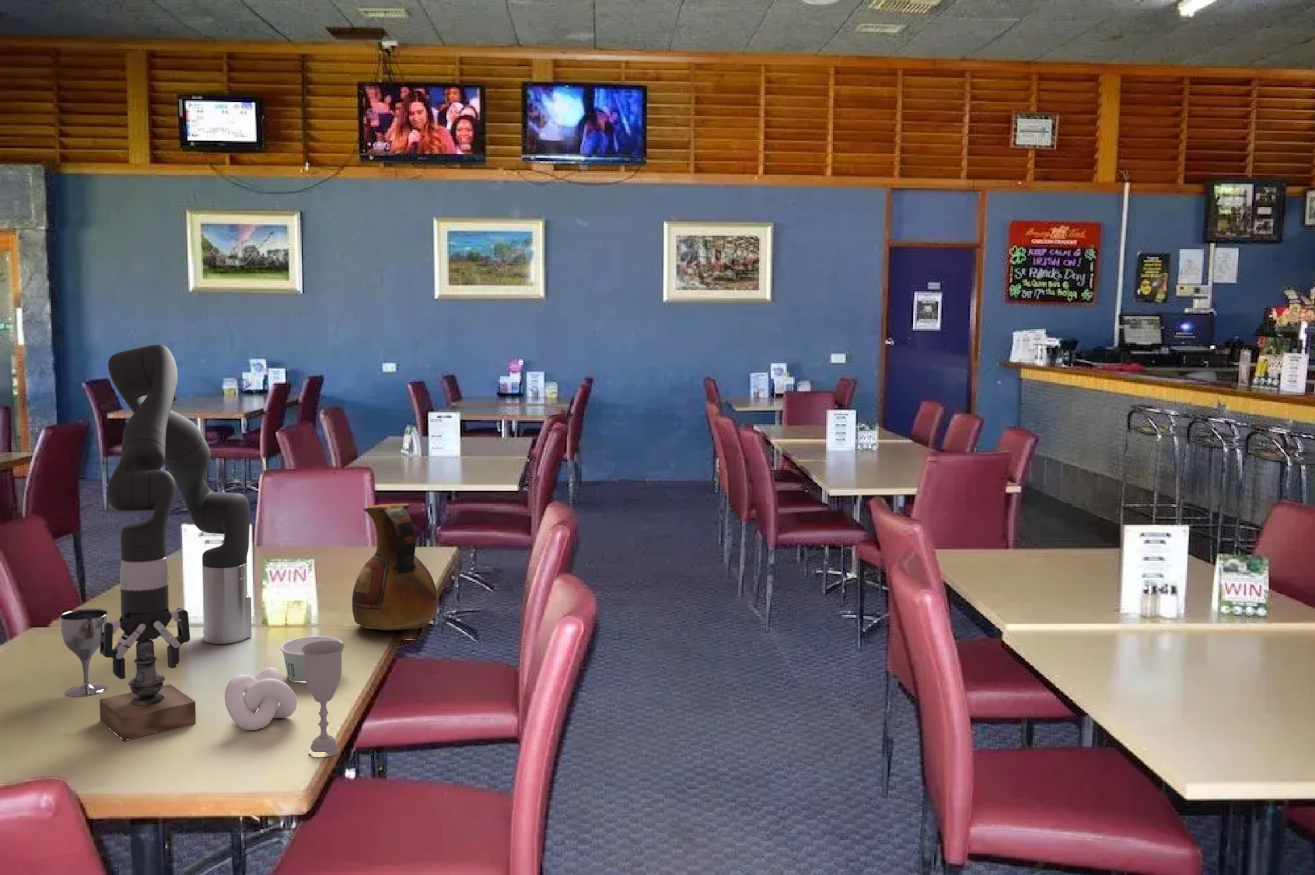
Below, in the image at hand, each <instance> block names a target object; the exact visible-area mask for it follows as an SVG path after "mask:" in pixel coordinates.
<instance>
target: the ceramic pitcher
mask: <svg viewBox="0 0 1315 875" xmlns="http://www.w3.org/2000/svg"><path fill="white" fill-rule="evenodd" d="M410 506H411V505H410V503H389V504H388V503H387V504H385V503H384V504H383V503H382V504H376V505H371V506H369V507H365V508H363V511H364V512H366V513H367V514H368V516H369V517H370V518H371V519H372V522H373V523H374V527H375V530H376V538H377V541H376V543H377V545H376V550H375V553H374V554H373V555H372V557H371V558H369V560H368V561H367V562H365V564H364V565H363V566H362V568H361V570H360V572H359V573H358V576H357V578H356V580H355V583H354V587H353V590H352V596H351V598H352V599H351V609H352V615H353V620H354V622H355V623H356V624H357V625H360V626H361V627H363V628H365V629H369V630H370V629H373V630H378V631H381V630H382V631H400V630H401V631H402V630H410V629H420V628H424V627H426V626H427V625H428V624H429V623H430V622H432V620H433V619H434V618H435V617H436V616H437V612H438V603H439V602H438V593H437V586H436V585H435V581H434V579H433V576H432V575H431V572H430V571H429V569H428V568H427V567H426V565H425V564H424V563H423V562H422V561H421V559H419V558H418V557H417V556H416V555H415V554H416V543H417V542H416V534H415V529H414V524H413V520H412V519H411V516H410V514H409V513H408V512H407V510H408V509H409V508H410Z"/></svg>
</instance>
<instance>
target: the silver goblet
mask: <svg viewBox="0 0 1315 875" xmlns="http://www.w3.org/2000/svg"><path fill="white" fill-rule="evenodd" d="M104 620H106V621H108V622H109V614H108V610H106V609H102V608H80V609H73V610H69V611H67V612H64V613H62V614H61V615H60V616H59V621H60V622H59V624H60V626H59V627H60V633H61V637H62V640H63V643H64V645H65V646H66V648H68V650H70V651H71V652H72V653H73V654H75V655H76V656H77V657H78V659H79V661H80V663H81V667H82V673H83V684H78V685H76V686H72V687H69V688H68V689H67V690H65V692H64V693H65V696H68V697H75V698H77V697H78V698H80V697H81V698H82V697H90V696H94V695H95V696H96V695H98V694H101V693H104V692H105V691H106V690H108V685H106V684H103V683H94V682H93V683H90V682H89V669H90V661H91V659H92V657H93V656H94V654H95V653H96V652H97V651H98V650H99V649H100V634H101V622H102V621H104Z"/></svg>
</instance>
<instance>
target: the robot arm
mask: <svg viewBox="0 0 1315 875" xmlns="http://www.w3.org/2000/svg"><path fill="white" fill-rule="evenodd" d="M107 367H108V368H107V369H108V374H109V376H110V379H111V380H112V381H111V382H112V383H113V385H114V388H116V390H117V392H118V393H119V395H120V396H121V398H122V399H123V400H124V402H125V403H126V405H127V406H128V408H130V410H131V411H132V413H133V414H132V415H131V416H130V418H129V419H128V421H127V422H126V424H125V427H124V428H123V433H122V439H121V440H122V442H121V454H120V458H119V461H118V463H117V465H116V467H115V469H114V471H113V473H112V475H111V476H110V479H109V481H108V485H107V488H106V496H107V498H106V499H107V500H108V501H107V502H108V503H109V505H110V506H111V507H112V508H113V509H114V510H116V511H119V512H142V511H143V512H144V511H145V512H146V511H152V512H153V514H152V515H151V517H149V518H148V519H147V520H144V521H139V522H135V523H131V524H128V525H126V526H124V527H123V528H122V529H121V531H120V557H121V558H120V569H119V570H120V571H119V580H120V581H119V584H120V585H119V586H120V589H119V590H120V615H121V616H120V617H119V619H118V620H113V621H112V620H111V621H109V620H108V621H106V620H104V621H102V622H101V634H100V647H99V653H100V654H101V655H102V656H103V657H104V658H110V659H112V673H113V675H114V676H115V677H117V678H118V679H119V680H124V679H126V660H125V657H124V656H125V654H126V653H127V652H128V651H129V649H131V647H133V645H134V644H135V643H136V642H142V641H145V640H147V639H150V640H152V641H154V640H157V639H158V638H159V637H161V638H162V639H163V640H164V641H165V642H166V643H167V644H168V645H167V646H166V647H167V648H166V649H167V651H166V652H167V654H166V655H167V666H168V668H170V669H171V670H172V669H176V668H177V665H179V663H180V646H181V645H183V644H184V643H189V642H190V641H191V634H190V621H189V612H188V611H187V610H186V609H184V608H182V607H178V608H176V610H173V611H170V610H169V606H170V604H169V602H170V601H169V600H170V599H169V597H170V596H169V579H170V576H169V569H168V568H169V567H168V563H167V545H166V544H167V543H166V540H167V539H166V538H167V537H166V534H167V526H168V520H169V516H170V511H171V509H172V506H173V505H172V504H173V502H174V499H175V496H176V489H177V488H178V490H179V492H180V494H181V497H182V498H183V501H184V503H185V506H186V508H187V511H188V512H189V513H188V514H189V515H190V517H191V519H192V522H193V524H194V525H195V527H196V528H197V529H198V530H199V531H201V532H203V533H206V534H214V535H215V534H217V535H224V536H223V542H222V544H220V545H219V546H216V547H212V548H210V549H206V550H205V551H203V553H202V558H201V560H202V562H201V563H202V564H201V566H202V606H203V607H202V609H203V610H202V612H203V613H202V614H203V631H202V632H203V642H205V643H208V644H213V645H225V644H232V643H233V644H234V643H238V642H241V641H243V640H246V639H249V638H252V637H253V634H252V629H253V628H252V596H251V595H249V594H248V554H249V549H250V548H249V547H250V529H251V528H250V526H251V525H250V524H251V507H250V502H249V500H248V498H247V496H246V495H244V494H242V493H237V492H221V491H220V492H217V491H213V490H212V489H211V488H210V487H209V485H208V484H207V482H206V480H205V476H206V473H207V471H208V469H209V465H210V461H211V449H210V447H209V445H208V443H207V441H206V438H205V437H204V435H203V433H202V431H201V429H200V428H199V426H197V424H196V423H194V422H193V421H192V420H191V419H189V418H187V417H186V416H183V415H182V414H180V413H178V412H176V411H174V410H173V409H172V406H173V402H174V398H175V394H176V391H177V386H178V379H179V377H178V374H179V373H178V367H177V363H176V359H175V358H174V356H173V354H172V351H171V350H170V349H169V348H168V347H167V346H165V345H163V344H150V345H145V346H142V347H138V348H134V349H133V348H132V349H129V350H123V351H119V352H117V353H114V354H113V355H111V356H110V357H109V359H108V364H107ZM163 466H165V467H166V469H167V470H164V469H163V470H162V468H163ZM176 487H177V488H176ZM172 619H173V621H174V622H176V627H177V636H174V635H173V634H172V632H170V631H169V629H167V626H168V625H169V624H170V622H171V620H172ZM119 628H120V629H121V630H122V631H123V632H122V634H121V635H120V637H119V638H118V639H117V643H116V645H115V646H114V647H113V640H114V639H113V638H114V635H115V634H116V632H117V630H118V629H119Z"/></svg>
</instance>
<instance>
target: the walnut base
mask: <svg viewBox="0 0 1315 875" xmlns="http://www.w3.org/2000/svg"><path fill="white" fill-rule="evenodd" d="M158 693H159V694H161V695H163V696H164V699H163V700H162V701H160V702H157V703H154V704H150V705H134V704H132V703H131V700H132V699H134V698H135V697H136V696H137V695H135V694H134V693H133V692H132V691H131V692H126V693H122V694H117V695H112V696H108V697H104V698H100V699H99V720H100V722H101V724H103V725H104V724H105V725H106V726H105V725H104V726H105V727H107V729H109V728H110V729H111V730H112V731H113V732H115V733H116V734H117V735H118V736H119V737H121V738H122V740H127V739H131V738H134V737H139V738H142V737H141V736H143V737H145V736H144V735H147V736H149V735H148V734H151V735H153V734H152V733H155V732H159V733H162V731H163V732H166V730H167V731H171V730H174V728H175V729H178V728H182V727H183V728H184V727H187V726H191V725H194V724H197V717H196V714H197V711H196V710H197V709H196V701H195V700H194V699H193V698H191V697H189V696H188V695H186V693H184V692H182V691H181V690H180V689H178V688H177V687H175V686H173V685H172V684H171V683H169V684H163V686H162V688H161V690H160V691H159V692H158ZM190 724H191V725H190ZM110 729H109V730H110ZM170 729H171V730H170ZM111 730H110V731H111ZM112 731H111V732H112ZM113 732H112V733H113ZM115 733H114V734H115ZM116 734H115V735H116ZM155 734H156V733H155ZM117 735H116V736H117ZM118 736H117V737H118ZM119 737H118V738H119ZM122 740H121V741H122ZM131 740H132V739H131ZM127 741H128V740H127Z"/></svg>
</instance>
